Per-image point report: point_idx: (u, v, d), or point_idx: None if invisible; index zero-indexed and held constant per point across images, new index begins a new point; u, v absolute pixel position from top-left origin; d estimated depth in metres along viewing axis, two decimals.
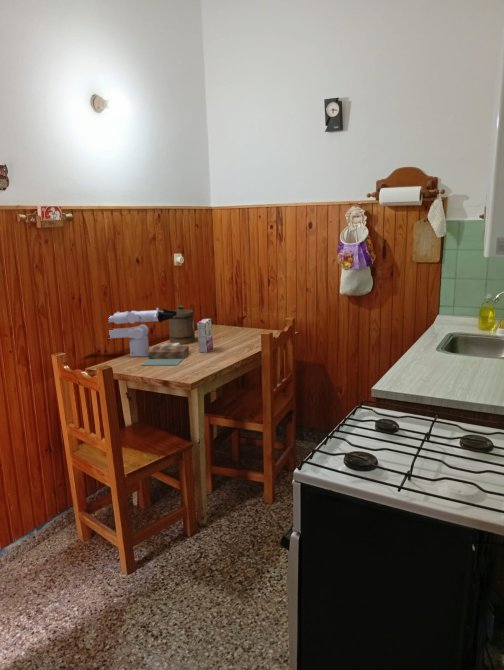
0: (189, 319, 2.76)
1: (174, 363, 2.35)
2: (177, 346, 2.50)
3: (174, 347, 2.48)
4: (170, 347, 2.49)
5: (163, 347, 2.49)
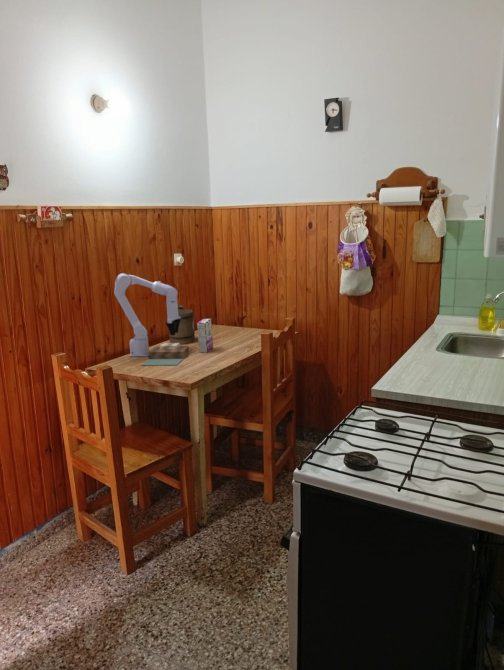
0: (189, 319, 2.76)
1: (174, 363, 2.35)
2: (177, 346, 2.50)
3: (174, 347, 2.48)
4: (170, 347, 2.49)
5: (163, 347, 2.49)
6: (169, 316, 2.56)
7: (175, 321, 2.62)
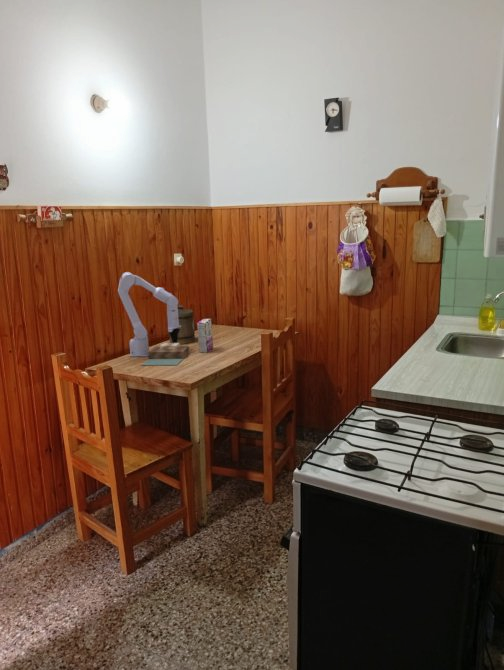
0: (189, 319, 2.76)
1: (174, 363, 2.35)
2: (177, 346, 2.50)
3: (174, 347, 2.48)
4: (170, 347, 2.49)
5: (163, 347, 2.49)
6: (170, 325, 2.57)
7: None
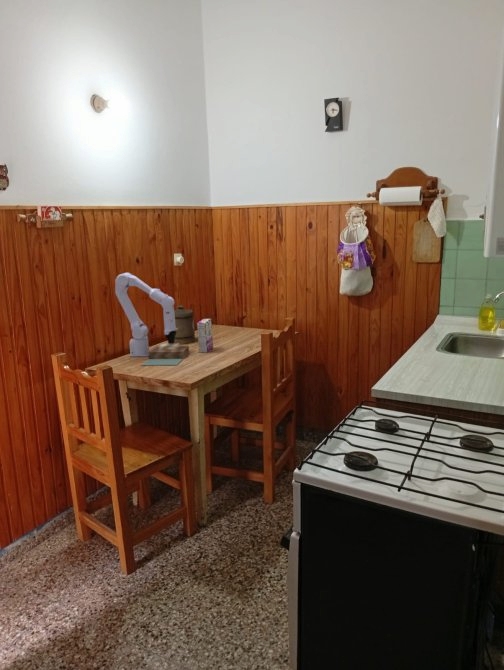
0: (189, 319, 2.76)
1: (174, 363, 2.35)
2: (177, 346, 2.49)
3: (174, 347, 2.48)
4: (170, 347, 2.48)
5: (163, 347, 2.48)
6: (166, 327, 2.50)
7: None
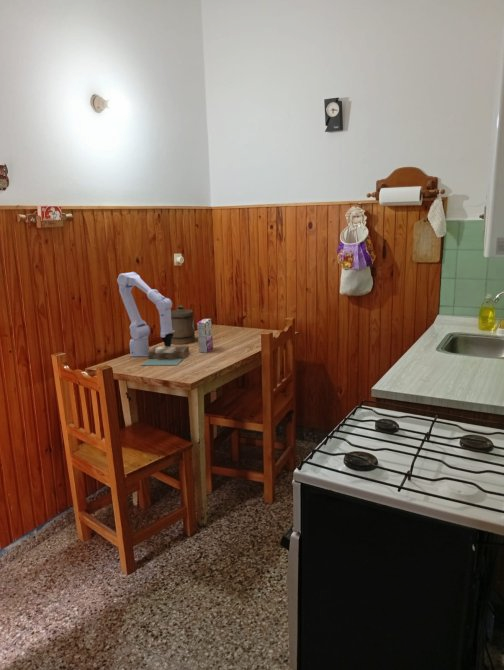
0: (189, 319, 2.76)
1: (174, 363, 2.35)
2: (173, 349, 2.43)
3: (170, 351, 2.41)
4: (166, 351, 2.42)
5: (159, 351, 2.42)
6: (162, 330, 2.44)
7: None
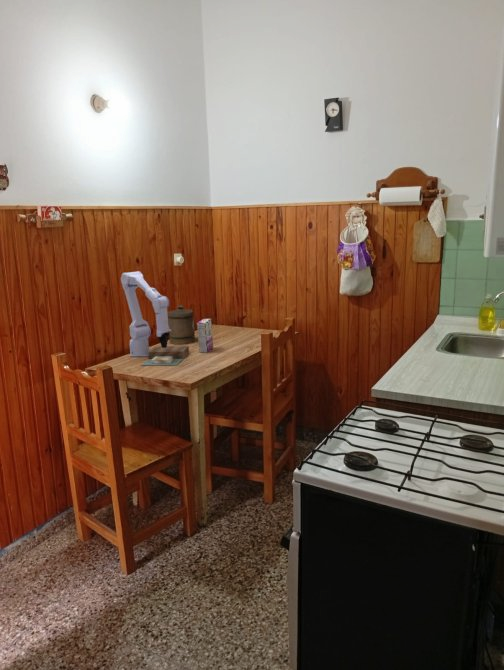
0: (189, 319, 2.76)
1: (174, 363, 2.35)
2: (171, 359, 2.39)
3: None
4: None
5: None
6: (158, 329, 2.38)
7: None
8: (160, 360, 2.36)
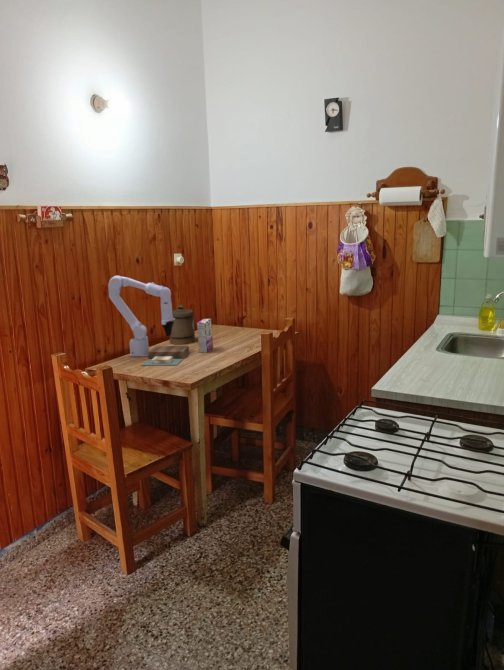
0: (189, 319, 2.76)
1: (174, 363, 2.35)
2: (171, 359, 2.39)
3: None
4: None
5: None
6: (163, 317, 2.52)
7: None
8: (160, 360, 2.36)
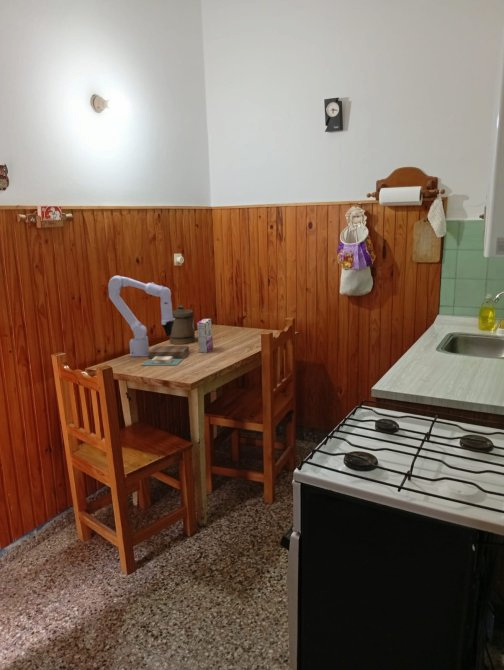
0: (189, 319, 2.76)
1: (174, 363, 2.35)
2: (171, 359, 2.39)
3: None
4: None
5: None
6: (163, 317, 2.52)
7: None
8: (160, 360, 2.36)
